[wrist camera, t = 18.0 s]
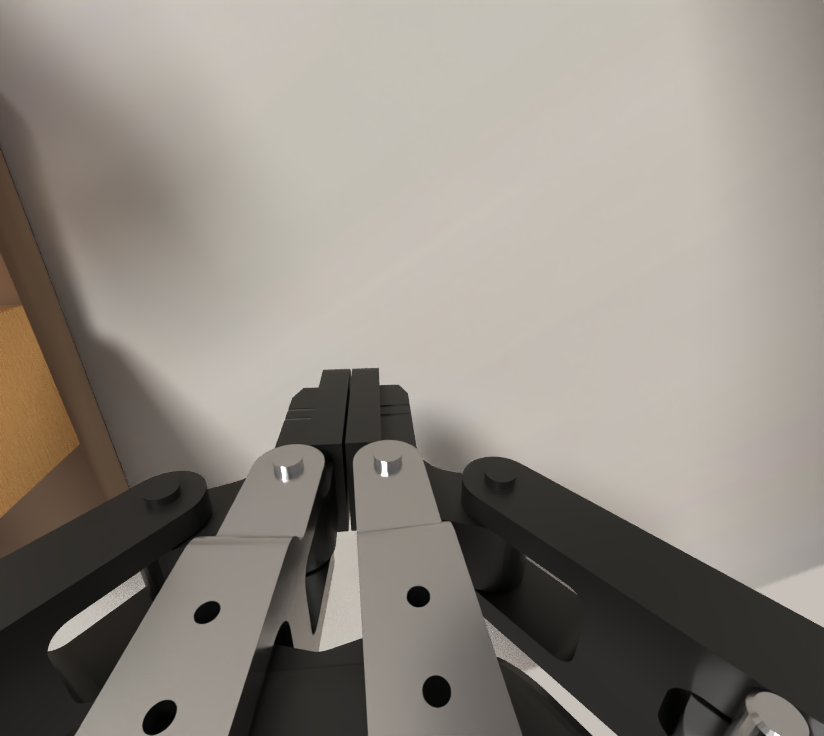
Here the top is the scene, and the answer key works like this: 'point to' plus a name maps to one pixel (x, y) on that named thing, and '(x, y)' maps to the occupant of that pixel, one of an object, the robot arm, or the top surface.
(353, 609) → the top surface
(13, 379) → the bar
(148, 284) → the top surface
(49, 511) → the socket base
